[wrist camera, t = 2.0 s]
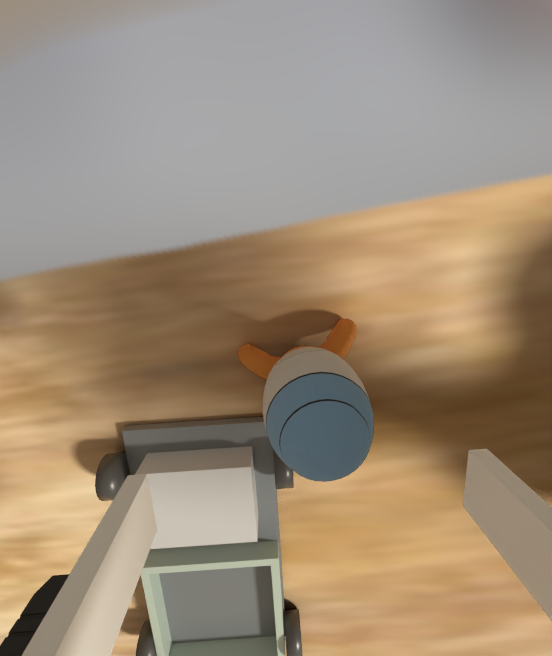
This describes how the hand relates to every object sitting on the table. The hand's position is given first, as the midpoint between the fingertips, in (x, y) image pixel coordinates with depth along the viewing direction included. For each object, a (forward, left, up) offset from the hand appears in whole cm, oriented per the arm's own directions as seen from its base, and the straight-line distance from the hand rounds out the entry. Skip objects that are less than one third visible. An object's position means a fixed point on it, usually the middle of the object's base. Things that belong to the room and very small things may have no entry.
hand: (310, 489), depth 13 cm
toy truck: (+9, +20, -17) cm, 28 cm away
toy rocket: (0, 0, -17) cm, 17 cm away
